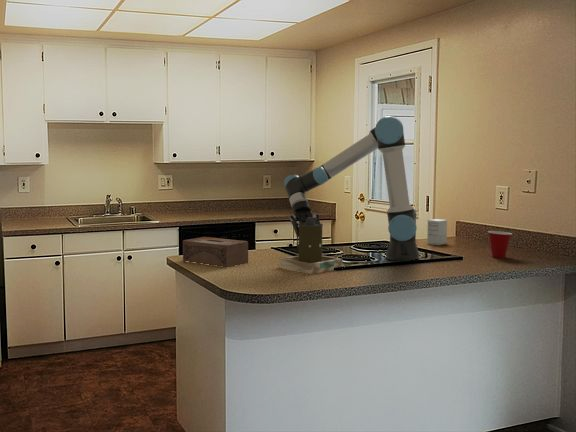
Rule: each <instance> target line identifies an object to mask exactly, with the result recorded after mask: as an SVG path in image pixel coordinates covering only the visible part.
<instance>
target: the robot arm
mask: <svg viewBox="0 0 576 432" xmlns="http://www.w3.org/2000/svg"><path fill="white" fill-rule="evenodd" d="M405 147H406V142H405V134H404V125H403V123H402V121H401V120H400V119H399V118H397V117H395V116H393V115H387V116H386V115H385V116H384V117H382V118H380V119H379V120H378V121H377V123H376V124H375V127H374V128H372V129H371V130H370V131H369V132H368V134H367V135H366V136H364V137H363V138H361V139H359V140H358V141H356V142H354V143H353V144H351V145H350V146H349V147H347V148H346V149H344V150H343V151H341V152H340V153H338V154H336V155H334V156H333V157H332V158H330V159H329V160H327V161H325V162H324V163H323V164H322V165H320V166H317V167H315V168H313V169H312V170H310V171H308V172H307V173H304V174H302V175H300V176H299V175H298V174H290V175H288V176H286V178H284V180H283V181H284V182H283V184H284V189H285V192H286V195H287V197H288V199H289V200H288V201H289V203H290V207H291V210H292V212H293V215H290V217H289V222H290V223H291V224H292V227H293V230H294V232H295V235H296V238H297V237H298V238H299V225H298V226H297V223H298V224H299V223H302V224H304V223H306V218H308V217H311V218H317V219H315V223H321V222H320V215H319V214H318V213H317V214H313V213H312V211H311V207H310V203H309V201H308V198H307V196H306V193H307V192H309V191H312V190H314V189H315V188H317V187H319V186H322V185H324V184H325V183H327V182H329V180H331V179H332V178H334V177H336V176H338V175H339V174H340V173H341V172H343V171H345V170H346V169H348V168H349V167H351V166H353V165H354V164H356V163H357V162H359V161H360V160H362V159H364V158H365V157H366V156H368V155H369V154H371V153H373V152H374V151H376V150H379V152H381V154H382V159H383V165H384V175H385V180H386V183H385V184H386V188H387V198H388V203H389V208H388V209H387V210H386V213H387V214H386V215H387V216H386V217H387V221H388V226H387V227H388V228H387V229H388V232H389V243H388V247H387V249H386V252H385V259H386V258H387V260H389V259H390V260H389V261H395V260H414V261H416V260H415V259H418V260H420V253H419V248H418V245H417V242H416V239H417V237H416V235H417V229H418V228H417V211H416V209H414V207H413V206H412V205H410V204H411V203H410V199H409V191H408V183H407V176H406V175H407V174H406V169H405V161H404V153H403V150H404V148H405ZM297 221H298V222H297ZM309 247H311V246H310V245H309ZM319 247H321V244H319Z"/></svg>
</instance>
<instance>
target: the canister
mask: <svg viewBox="0 0 576 432" xmlns="http://www.w3.org/2000/svg"><path fill="white" fill-rule="evenodd" d="M315 219H317V218H311V217H308V218H306V223H304V224H302V223H299V222H297V226H298V227H299V237H297V236H296V249H298V256H299V261H300V262H306V263H316V262H322V255H323V225H324V224H323V223H321V222H320V223H315ZM319 244H321V247H319ZM309 245H310V246H311V247H309Z"/></svg>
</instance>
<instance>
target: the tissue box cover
mask: <svg viewBox="0 0 576 432" xmlns="http://www.w3.org/2000/svg"><path fill="white" fill-rule="evenodd" d="M183 261H189V262H196V263H203V264H209V265H217V266H223V267H230V266H234V267H236V266H235V265H238V266H241V265H240V264H242V265H246V264H248V263H249V240H248V241H247V240H239V239H237V240H236V239H229V238H228V239H227V238H219V237H218V238H217V237H212V236H211V237H210V236H201V237H196V238H190V239H183V240H182V262H183ZM245 263H246V264H245ZM223 267H222V268H223ZM230 268H231V267H230Z"/></svg>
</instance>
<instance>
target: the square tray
mask: <svg viewBox="0 0 576 432" xmlns="http://www.w3.org/2000/svg"><path fill="white" fill-rule="evenodd" d="M343 262H344V261H343V258H339V257H333V256H327V255H323V254H322V262H316V263H306V262H300V261H299V255H294V256H287V257H281V258H279V264H277V269H281V268H282V270H286V269H287V271H292V272H296V271H297V272H296V273H301V272H302V274H306V273H307V275H315V274H320V273H324V272H325V273H326V272H331V271H332V272H333V271H335V270H334V268H335V267H341V266H344V267H345V264H343Z"/></svg>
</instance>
